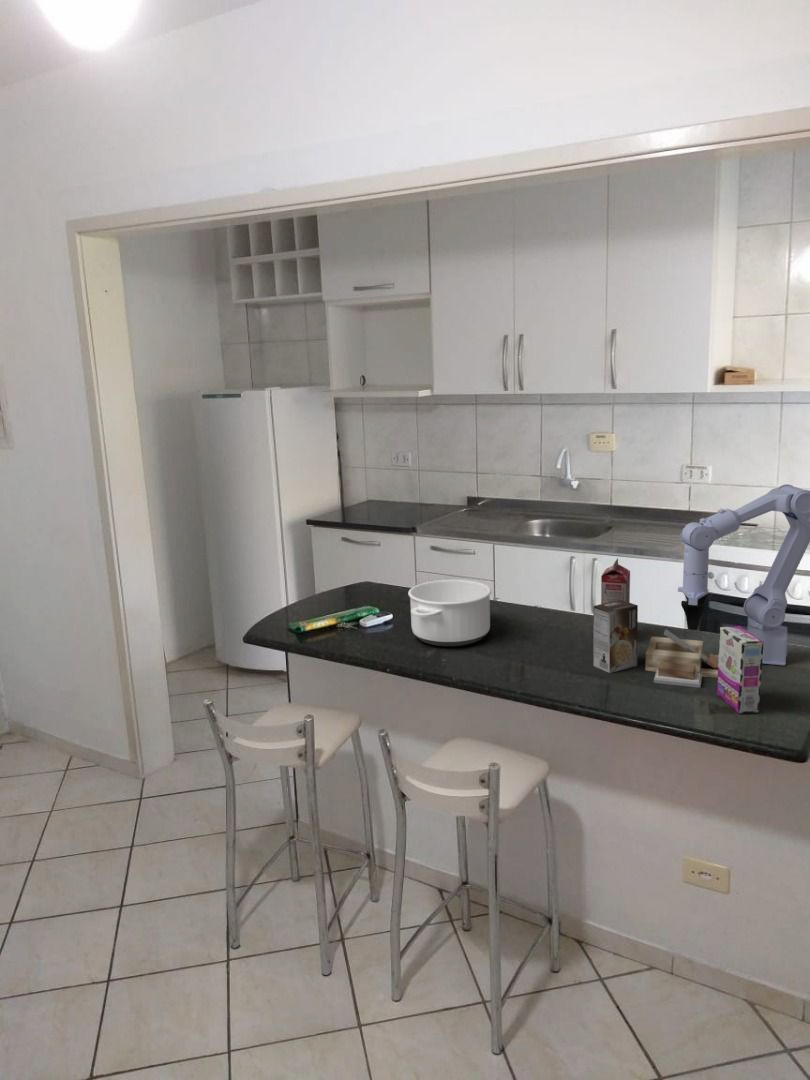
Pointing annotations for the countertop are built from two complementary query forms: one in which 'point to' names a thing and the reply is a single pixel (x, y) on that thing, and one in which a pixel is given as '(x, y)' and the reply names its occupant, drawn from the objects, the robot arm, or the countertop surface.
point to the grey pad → (679, 680)
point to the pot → (450, 612)
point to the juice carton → (615, 584)
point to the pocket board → (676, 655)
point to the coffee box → (615, 635)
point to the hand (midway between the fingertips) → (693, 624)
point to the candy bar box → (739, 669)
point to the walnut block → (676, 670)
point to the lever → (694, 650)
